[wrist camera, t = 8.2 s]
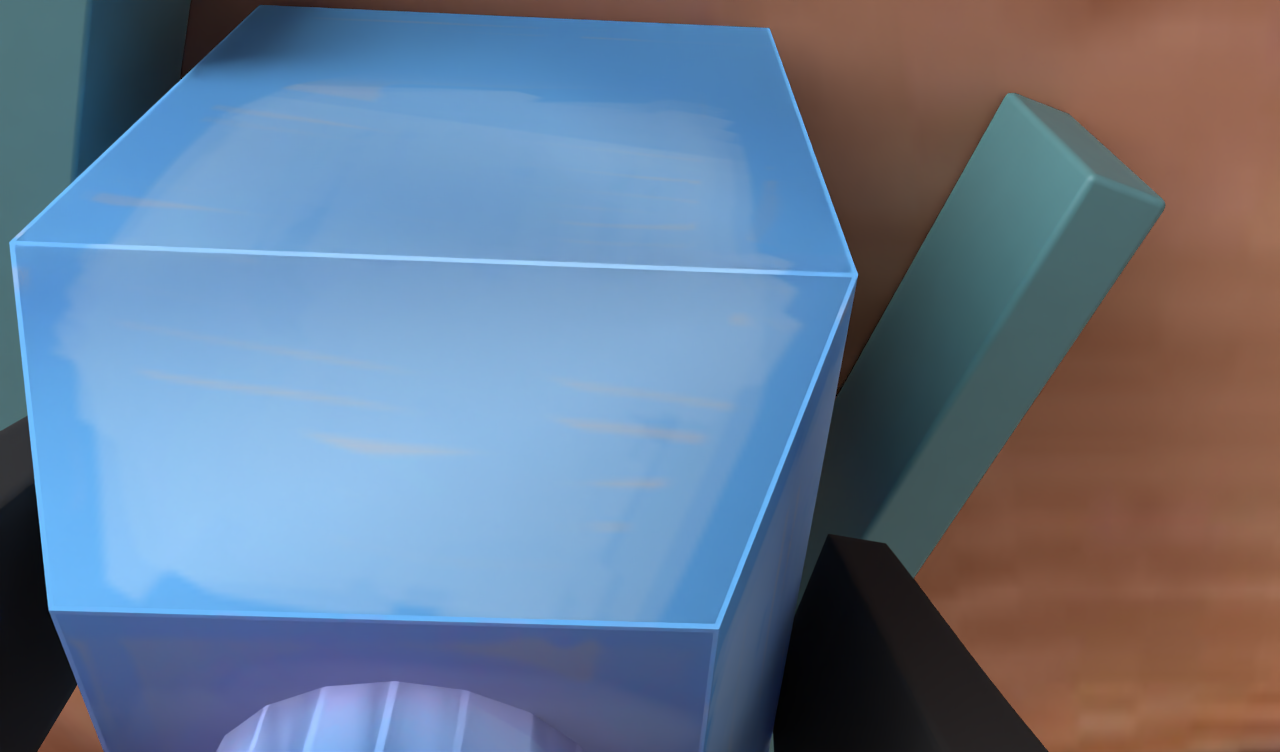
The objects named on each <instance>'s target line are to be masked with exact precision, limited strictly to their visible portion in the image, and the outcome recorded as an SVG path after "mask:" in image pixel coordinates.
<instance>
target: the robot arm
mask: <svg viewBox="0 0 1280 752" xmlns="http://www.w3.org/2000/svg"><path fill="white" fill-rule="evenodd" d="M76 686H77V682H76V679H75V677H74V674H73V672H72V669H71V666H70V664H69V661H68V659H67V656H66V654H65V651H64V649H63V646H62V643H61V641H60V638H59V636H58V633H57V631H56V628H55V626H54V623H53V620H52V618H51V615H50V613H49V610H48V600H47V591H46V582H45V572H44V563H43V554H42V544H41V535H40V526H39V516H38V507H37V498H36V488H35V479H34V469H33V460H32V451H31V441H30V432H29V423H28V416H26V417H24V418H22V419H21V420H19V421H17V422H15V423H13V424H12V425H10V426H8V427H6V428H5V429H3V430H1V431H0V752H37V751H38V749H39V748H40V746H41V744H42V743H43V741H44V739H45V738H46V736H47V734H48V733H49V731H50V729H51V728H52V726H53V724H54V723H55V721H56V719H57V718H58V716H59V714H60V713H61V711H62V709H63V708H64V706H65V704H66V703H67V701H68V700H69V698H70V696H71V694H72V693H73V691H74V689H75V688H76ZM773 744H774V752H1048V750H1047V749H1046V748H1045V747H1044V746H1043V744H1042V743H1041V742H1040V741H1039V740H1038V738H1037V737H1036V736H1035V735H1034V734H1033V732H1032V731H1031V730H1030V729H1029V728H1028V726H1027V725H1026V724H1025V723H1024V721H1023V720H1022V719H1021V718H1020V717H1019V715H1018V714H1017V713H1016V712H1015V710H1014V709H1013V708H1012V707H1011V705H1010V704H1009V703H1008V702H1007V700H1006V699H1005V698H1004V697H1003V695H1002V694H1001V693H1000V692H999V690H998V689H997V688H996V686H995V685H994V684H993V683H992V681H991V680H990V679H989V678H988V676H987V675H986V674H985V672H984V671H983V670H982V669H981V667H980V666H979V665H978V663H977V662H976V661H975V659H974V658H973V657H972V656H971V654H970V653H969V652H968V650H967V649H966V648H965V646H964V645H963V644H962V642H961V641H960V640H959V638H958V637H957V636H956V634H955V633H954V632H953V630H952V629H951V628H950V626H949V625H948V624H947V623H946V621H945V620H944V619H943V617H942V616H941V615H940V613H939V612H938V611H937V609H936V608H935V607H934V605H933V604H932V603H931V601H930V600H929V599H928V597H927V596H926V595H925V593H924V592H923V590H922V589H921V588H920V586H919V585H918V584H917V582H916V581H915V580H914V579H913V577H912V576H911V575H910V573H909V572H908V571H907V569H906V568H905V567H904V565H903V564H902V563H901V561H900V560H899V559H898V558H897V556H896V555H895V554H894V553H893V551H892V550H891V549H890V548H889V546H888V545H887V544H886V543H881V542H875V541H869V540H863V539H857V538H851V537H845V536H839V535H833V534H828V535H827V538H826V540H825V543H824V545H823V547H822V550H821V552H820V555H819V557H818V560H817V562H816V565H815V567H814V570H813V572H812V574H811V577H810V579H809V582H808V584H807V587H806V589H805V592H804V594H803V597H802V599H801V601H800V604H799V606H798V609H797V611H796V614H795V616H794V620H793V626H792V631H791V636H790V642H789V647H788V652H787V658H786V663H785V669H784V674H783V679H782V685H781V690H780V695H779V701H778V706H777V711H776V717H775V722H774V727H773Z"/></svg>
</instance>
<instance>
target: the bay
mask: <svg viewBox="0 0 1280 752" xmlns="http://www.w3.org/2000/svg"><path fill="white" fill-rule="evenodd" d="M190 3H191V0H0V431H1V430H3V429H5V428H6V427H8V426H10V425H12V424H13V423H15V422H17V421H19V420H21V419H22V418H24V417H26V416H28V413H27V404H26V395H25V385H24V376H23V367H22V357H21V348H20V339H19V329H18V320H17V310H16V301H15V292H14V282H13V273H12V264H11V254H10V245H9V242H10V241H11V240H12V239H13V238H14V237H15V236H16V235H17V234H18V233H20V232H21V231H22V230H23V229H24V228H25V227H26V226H27V225H28V224H29V223H30V222H31V221H32V220H33V219H34V218H35V217H36V216H37V215H38V214H40V213H41V212H42V211H43V210H44V209H45V208H46V207H47V206H48V205H49V204H50V203H51V202H52V201H53V200H54V199H55V198H56V197H57V196H59V195H60V194H61V193H62V192H63V191H64V190H65V189H66V188H67V187H68V186H69V185H70V184H71V183H72V182H73V181H74V180H75V179H76V178H78V177H79V176H80V175H81V174H82V173H83V172H84V171H85V170H86V169H87V168H88V167H89V166H90V165H91V164H92V163H93V162H94V161H95V160H97V159H98V158H99V157H100V156H101V155H102V154H103V153H104V152H105V151H106V150H107V149H108V148H109V147H110V146H111V145H112V144H113V143H114V142H116V141H117V140H118V139H119V138H120V137H121V136H122V135H123V134H124V133H125V132H126V131H127V130H128V129H129V128H130V127H131V126H132V125H133V124H134V123H136V122H137V121H138V120H139V119H140V118H141V117H142V116H143V115H144V114H145V113H146V112H147V111H148V110H149V109H150V108H151V107H152V106H153V105H155V104H156V103H157V102H158V101H159V100H160V99H161V98H162V97H163V96H164V95H165V94H166V93H167V92H168V91H169V90H170V89H171V88H172V87H174V86H175V85H176V84H177V83H178V82H179V81H180V75H181V68H182V60H183V53H184V46H185V39H186V32H187V24H188V17H189V10H190ZM1164 208H1165V202H1164V200H1163V199H1162V198H1161V197H1160V196H1159V195H1158V194H1157V193H1155V192H1154V191H1153V190H1152V189H1151V188H1150V187H1149V186H1148V185H1147V184H1145V183H1144V182H1143V181H1142V180H1141V179H1140V178H1139V177H1138V176H1137V175H1136V174H1134V173H1133V172H1132V171H1131V170H1130V169H1129V168H1128V167H1127V166H1126V165H1125V164H1123V163H1122V162H1121V161H1120V160H1119V159H1118V158H1117V157H1116V156H1115V155H1113V154H1112V153H1111V152H1110V151H1109V150H1108V149H1107V148H1106V147H1105V146H1104V145H1102V144H1101V143H1100V142H1099V141H1098V140H1097V139H1096V138H1095V137H1094V136H1093V135H1091V134H1090V133H1089V132H1088V131H1087V130H1086V129H1085V128H1084V127H1083V126H1081V125H1080V124H1079V123H1078V122H1077V121H1076V120H1075V119H1074V118H1073V117H1072V116H1070V115H1069V114H1067V113H1065V112H1062V111H1060V110H1057V109H1054V108H1052V107H1049V106H1047V105H1044V104H1042V103H1039V102H1037V101H1034V100H1032V99H1029V98H1026V97H1024V96H1021V95H1019V94H1016V93H1008V94H1007V95H1006V96H1005V98H1004V99H1003V101H1002V103H1001V105H1000V106H999V108H998V110H997V112H996V114H995V115H994V117H993V119H992V121H991V123H990V124H989V126H988V128H987V130H986V131H985V133H984V135H983V137H982V139H981V140H980V142H979V144H978V146H977V148H976V149H975V151H974V153H973V155H972V156H971V158H970V160H969V162H968V164H967V165H966V167H965V169H964V171H963V173H962V174H961V176H960V178H959V180H958V182H957V183H956V185H955V187H954V189H953V190H952V192H951V194H950V196H949V198H948V199H947V201H946V203H945V205H944V207H943V208H942V210H941V212H940V214H939V215H938V217H937V219H936V221H935V223H934V224H933V226H932V228H931V230H930V232H929V233H928V235H927V237H926V239H925V240H924V242H923V244H922V246H921V248H920V249H919V251H918V253H917V255H916V257H915V258H914V260H913V262H912V264H911V265H910V267H909V269H908V271H907V273H906V274H905V276H904V278H903V280H902V282H901V283H900V285H899V287H898V289H897V291H896V292H895V294H894V296H893V298H892V299H891V301H890V303H889V305H888V307H887V308H886V310H885V312H884V314H883V316H882V317H881V319H880V321H879V323H878V324H877V326H876V328H875V330H874V332H873V333H872V335H871V337H870V339H869V341H868V342H867V344H866V346H865V348H864V349H863V351H862V353H861V355H860V357H859V358H858V360H857V362H856V364H855V366H854V367H853V369H852V371H851V373H850V374H849V376H848V378H847V380H846V382H845V383H844V385H843V387H842V389H841V391H840V392H839V394H838V396H837V398H836V400H835V401H834V406H833V412H832V417H831V423H830V428H829V433H828V439H827V444H826V449H825V455H824V460H823V465H822V471H821V476H820V481H819V487H818V492H817V497H816V503H815V508H814V513H813V519H812V524H811V529H810V535H809V540H808V546H807V551H806V556H805V562H804V567H803V572H802V578H801V583H800V588H799V594H798V599H797V604H796V610H795V614H796V611H797V609H798V606H799V604H800V601H801V599H802V597H803V594H804V592H805V589H806V587H807V584H808V582H809V579H810V577H811V574H812V572H813V570H814V567H815V565H816V562H817V560H818V557H819V555H820V552H821V550H822V547H823V545H824V543H825V540H826V538H827V535H828V534H833V535H839V536H845V537H851V538H857V539H863V540H869V541H875V542H881V543H886V544H887V545H888V546H889V548H890V549H891V550H892V551H893V553H894V554H895V555H896V556H897V558H898V559H899V560H900V561H901V563H902V564H903V565H904V567H905V568H906V569H907V571H908V572H909V573H910V575H911V576H912V577H913V579H914V577H915V576H916V574H917V573H918V571H919V570H920V568H921V567H922V565H923V564H924V562H925V561H926V559H927V558H928V556H929V555H930V554H931V552H932V551H933V549H934V548H935V546H936V545H937V543H938V542H939V540H940V539H941V537H942V536H943V534H944V533H945V531H946V530H947V529H948V527H949V526H950V524H951V523H952V521H953V520H954V518H955V517H956V515H957V514H958V512H959V511H960V509H961V508H962V506H963V505H964V503H965V502H966V501H967V499H968V498H969V496H970V495H971V493H972V492H973V490H974V489H975V487H976V486H977V484H978V483H979V481H980V480H981V478H982V477H983V476H984V474H985V473H986V471H987V470H988V468H989V467H990V465H991V464H992V462H993V461H994V459H995V458H996V456H997V455H998V453H999V452H1000V451H1001V449H1002V448H1003V446H1004V445H1005V443H1006V442H1007V440H1008V439H1009V437H1010V436H1011V434H1012V433H1013V431H1014V430H1015V428H1016V427H1017V425H1018V424H1019V423H1020V421H1021V420H1022V418H1023V417H1024V415H1025V414H1026V412H1027V411H1028V409H1029V408H1030V406H1031V405H1032V403H1033V402H1034V400H1035V399H1036V398H1037V396H1038V395H1039V393H1040V392H1041V390H1042V389H1043V387H1044V386H1045V384H1046V383H1047V381H1048V380H1049V378H1050V377H1051V375H1052V374H1053V373H1054V371H1055V370H1056V368H1057V367H1058V365H1059V364H1060V362H1061V361H1062V359H1063V358H1064V356H1065V355H1066V353H1067V352H1068V350H1069V349H1070V347H1071V346H1072V345H1073V343H1074V342H1075V340H1076V339H1077V337H1078V336H1079V334H1080V333H1081V331H1082V330H1083V328H1084V327H1085V325H1086V324H1087V322H1088V321H1089V320H1090V318H1091V317H1092V315H1093V314H1094V312H1095V311H1096V309H1097V308H1098V306H1099V305H1100V303H1101V302H1102V300H1103V299H1104V297H1105V296H1106V295H1107V293H1108V292H1109V290H1110V289H1111V287H1112V286H1113V284H1114V283H1115V281H1116V280H1117V278H1118V277H1119V275H1120V274H1121V272H1122V271H1123V270H1124V268H1125V267H1126V265H1127V264H1128V262H1129V261H1130V259H1131V258H1132V256H1133V255H1134V253H1135V252H1136V250H1137V249H1138V247H1139V246H1140V244H1141V243H1142V242H1143V240H1144V239H1145V237H1146V236H1147V234H1148V233H1149V231H1150V230H1151V228H1152V227H1153V225H1154V224H1155V222H1156V221H1157V219H1158V218H1159V217H1160V215H1161V214H1162V212H1163V211H1164ZM794 616H795V615H794ZM769 752H774V744H773V733H772V738H771V743H770V749H769Z"/></svg>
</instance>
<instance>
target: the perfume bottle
mask: <svg viewBox="0 0 1280 752" xmlns="http://www.w3.org/2000/svg"><path fill="white" fill-rule="evenodd" d="M9 245H10V254H11V264H12V273H13V282H14V292H15V301H16V310H17V320H18V329H19V339H20V348H21V357H22V367H23V376H24V385H25V395H26V404H27V413H28V423H29V432H30V441H31V451H32V460H33V469H34V479H35V488H36V498H37V507H38V516H39V526H40V535H41V544H42V554H43V563H44V572H45V582H46V591H47V600H48V610H49V613H50V615H51V618H52V620H53V623H54V626H55V628H56V631H57V633H58V636H59V638H60V641H61V643H62V646H63V649H64V651H65V654H66V656H67V659H68V661H69V664H70V666H71V669H72V672H73V674H74V677H75V679H76V682H77V684H78V687H79V689H80V692H81V694H82V697H83V700H84V702H85V705H86V707H87V710H88V712H89V715H90V717H91V720H92V723H93V725H94V728H95V730H96V733H97V735H98V738H99V740H100V743H101V746H102V748H103V751H104V752H769V749H770V743H771V738H772V733H773V727H774V722H775V717H776V711H777V706H778V701H779V695H780V690H781V685H782V679H783V674H784V669H785V663H786V658H787V652H788V647H789V642H790V636H791V631H792V626H793V620H794V615H795V610H796V604H797V599H798V594H799V588H800V583H801V578H802V572H803V567H804V562H805V556H806V551H807V546H808V540H809V535H810V529H811V524H812V519H813V513H814V508H815V503H816V497H817V492H818V487H819V481H820V476H821V471H822V465H823V460H824V455H825V449H826V444H827V439H828V433H829V428H830V423H831V417H832V412H833V406H834V401H835V396H836V390H837V385H838V380H839V374H840V369H841V364H842V358H843V353H844V348H845V342H846V337H847V332H848V326H849V321H850V316H851V310H852V305H853V300H854V294H855V289H856V283H857V278H858V273H857V271H856V268H855V265H854V262H853V259H852V257H851V254H850V251H849V248H848V245H847V243H846V240H845V237H844V234H843V232H842V229H841V226H840V223H839V220H838V218H837V215H836V212H835V209H834V206H833V204H832V201H831V198H830V195H829V193H828V190H827V187H826V184H825V181H824V179H823V176H822V173H821V170H820V168H819V165H818V162H817V159H816V156H815V154H814V151H813V148H812V145H811V142H810V140H809V137H808V134H807V131H806V129H805V126H804V123H803V120H802V117H801V115H800V112H799V109H798V106H797V103H796V101H795V98H794V95H793V92H792V90H791V87H790V84H789V81H788V78H787V76H786V73H785V70H784V67H783V64H782V62H781V59H780V56H779V53H778V51H777V48H776V45H775V42H774V39H773V37H772V34H771V31H770V28H756V27H734V26H712V25H690V24H668V23H646V22H624V21H602V20H580V19H558V18H536V17H514V16H492V15H470V14H448V13H426V12H404V11H383V10H361V9H339V8H317V7H295V6H273V5H259V6H258V7H257V8H256V9H255V10H254V11H253V12H252V13H251V14H249V15H248V16H247V17H246V18H245V19H244V20H243V21H242V22H241V23H240V24H239V25H238V26H237V27H236V28H235V29H234V30H233V31H232V32H230V33H229V34H228V35H227V36H226V37H225V38H224V39H223V40H222V41H221V42H220V43H219V44H218V45H217V46H216V47H215V48H214V49H213V50H212V51H210V52H209V53H208V54H207V55H206V56H205V57H204V58H203V59H202V60H201V61H200V62H199V63H198V64H197V65H196V66H195V67H194V68H193V69H191V70H190V71H189V72H188V73H187V74H186V75H185V76H184V77H183V78H182V79H181V80H180V81H179V82H178V83H177V84H176V85H175V86H174V87H172V88H171V89H170V90H169V91H168V92H167V93H166V94H165V95H164V96H163V97H162V98H161V99H160V100H159V101H158V102H157V103H156V104H155V105H153V106H152V107H151V108H150V109H149V110H148V111H147V112H146V113H145V114H144V115H143V116H142V117H141V118H140V119H139V120H138V121H137V122H136V123H134V124H133V125H132V126H131V127H130V128H129V129H128V130H127V131H126V132H125V133H124V134H123V135H122V136H121V137H120V138H119V139H118V140H117V141H116V142H114V143H113V144H112V145H111V146H110V147H109V148H108V149H107V150H106V151H105V152H104V153H103V154H102V155H101V156H100V157H99V158H98V159H97V160H95V161H94V162H93V163H92V164H91V165H90V166H89V167H88V168H87V169H86V170H85V171H84V172H83V173H82V174H81V175H80V176H79V177H78V178H76V179H75V180H74V181H73V182H72V183H71V184H70V185H69V186H68V187H67V188H66V189H65V190H64V191H63V192H62V193H61V194H60V195H59V196H57V197H56V198H55V199H54V200H53V201H52V202H51V203H50V204H49V205H48V206H47V207H46V208H45V209H44V210H43V211H42V212H41V213H40V214H38V215H37V216H36V217H35V218H34V219H33V220H32V221H31V222H30V223H29V224H28V225H27V226H26V227H25V228H24V229H23V230H22V231H21V232H20V233H18V234H17V235H16V236H15V237H14V238H13V239H12V240H11V241H10V242H9Z"/></svg>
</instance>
